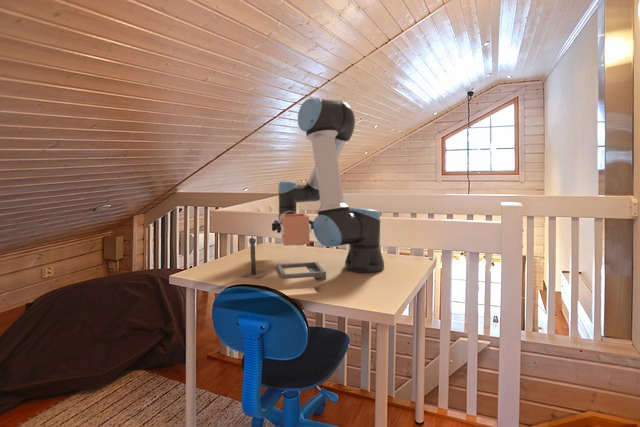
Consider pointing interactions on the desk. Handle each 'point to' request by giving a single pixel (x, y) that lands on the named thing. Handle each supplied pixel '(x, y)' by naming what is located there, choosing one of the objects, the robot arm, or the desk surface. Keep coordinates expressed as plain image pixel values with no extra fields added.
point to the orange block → (295, 229)
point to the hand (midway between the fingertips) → (296, 229)
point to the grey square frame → (312, 267)
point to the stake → (253, 265)
